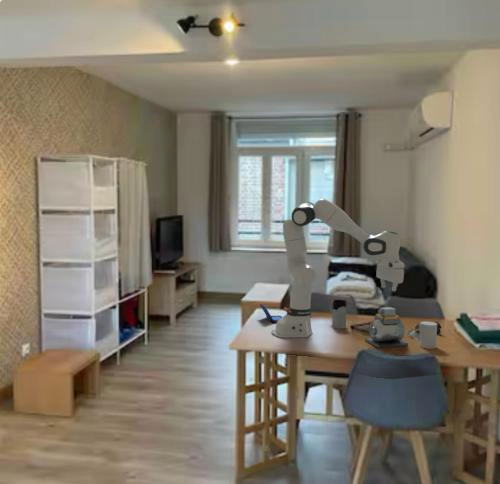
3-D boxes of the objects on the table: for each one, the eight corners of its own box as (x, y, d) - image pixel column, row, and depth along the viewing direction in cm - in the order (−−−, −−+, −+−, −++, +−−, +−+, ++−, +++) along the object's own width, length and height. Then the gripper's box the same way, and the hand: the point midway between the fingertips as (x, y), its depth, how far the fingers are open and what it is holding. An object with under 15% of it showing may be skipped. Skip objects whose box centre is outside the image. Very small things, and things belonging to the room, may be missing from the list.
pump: (381, 319, 280) (381, 309, 279) (376, 317, 284) (377, 307, 284) (394, 318, 282) (395, 308, 282) (390, 316, 287) (390, 307, 286)
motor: (378, 348, 276) (380, 319, 274) (364, 340, 289) (366, 312, 287) (408, 346, 281) (409, 317, 279) (393, 338, 294) (394, 311, 293)
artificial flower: (444, 337, 305) (447, 321, 301) (413, 346, 295) (416, 330, 291) (432, 329, 312) (435, 314, 308) (402, 338, 302) (405, 322, 298)
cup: (438, 348, 277) (439, 325, 276) (422, 348, 277) (424, 325, 275) (432, 344, 285) (433, 321, 284) (416, 344, 285) (417, 321, 283)
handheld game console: (287, 323, 324) (288, 308, 324) (265, 324, 322) (266, 308, 321) (280, 317, 340) (280, 302, 339) (259, 318, 337) (259, 303, 336)
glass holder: (336, 328, 313) (337, 303, 312) (323, 323, 326) (324, 298, 324) (349, 327, 317) (350, 302, 315) (335, 322, 329) (336, 297, 328)
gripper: (373, 260, 290) (372, 285, 291) (395, 265, 270) (394, 293, 272) (384, 259, 292) (383, 285, 293) (406, 265, 272) (405, 292, 274)
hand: (388, 289), depth 282 cm, fingers open, 8 cm apart
